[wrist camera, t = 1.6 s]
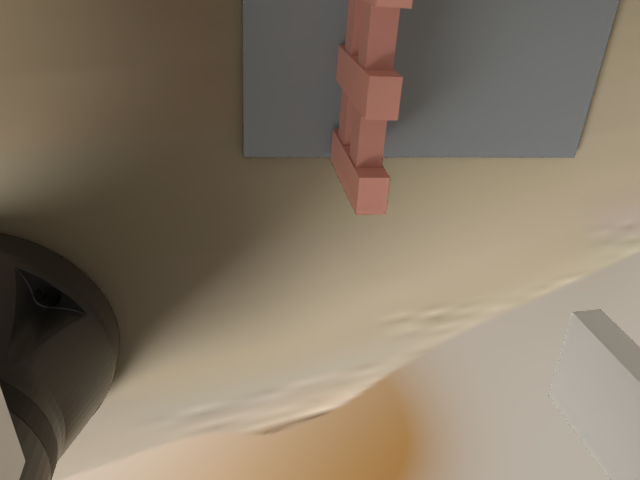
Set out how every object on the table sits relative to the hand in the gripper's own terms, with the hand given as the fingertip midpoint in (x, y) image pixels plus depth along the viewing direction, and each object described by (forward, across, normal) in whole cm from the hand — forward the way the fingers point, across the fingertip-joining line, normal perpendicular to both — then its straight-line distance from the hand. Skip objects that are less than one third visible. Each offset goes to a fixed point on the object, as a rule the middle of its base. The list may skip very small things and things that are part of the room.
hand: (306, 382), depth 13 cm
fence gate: (+20, +5, +4) cm, 21 cm away
